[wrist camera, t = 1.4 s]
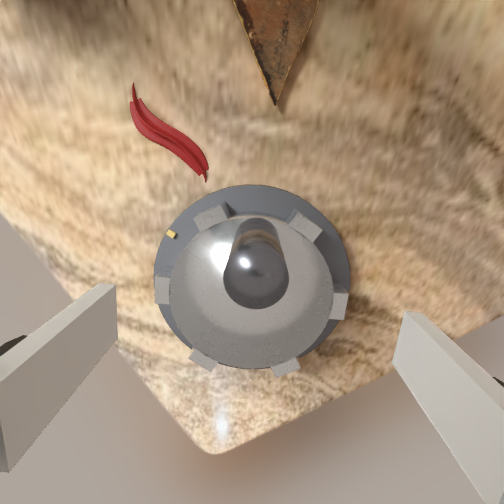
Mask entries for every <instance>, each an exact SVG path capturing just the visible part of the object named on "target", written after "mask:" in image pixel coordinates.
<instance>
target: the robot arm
mask: <svg viewBox="0 0 504 504" xmlns="http://www.w3.org/2000/svg"><path fill="white" fill-rule="evenodd" d="M117 339H118V332H117V303H116V285H115V284H104V283H98V284H97V285H96V286H94V287H93V288H92V289H90V290H89V291H88V292H86V293H85V294H84V295H82V296H81V297H80V298H78V299H77V300H76V301H74V302H73V303H72V304H70V305H69V306H68V307H66V308H65V309H63V310H62V311H61V312H60V313H58V314H57V315H56V316H54V317H53V318H51V319H50V320H49V321H47V322H46V323H45V324H43V325H42V326H41V327H39V328H38V329H37V330H36V331H34V332H33V333H31V334H30V335H29V336H25V335H23V336H20V337H18V338H16V339H13V340H11V341H9V342H7V343H5V344H4V345H2V346H1V347H0V472H8V473H9V472H10V471H11V470H12V468H13V467H14V466H15V465H16V463H17V462H18V461H19V460H20V459H21V457H22V456H23V455H24V454H25V452H26V451H27V450H28V449H29V447H30V446H31V445H32V444H33V442H34V441H35V440H36V439H37V438H38V436H39V435H40V434H41V433H42V431H43V430H44V429H45V428H46V426H47V425H48V424H49V423H50V421H51V420H52V419H53V418H54V417H55V415H56V414H57V413H58V412H59V410H60V409H61V408H62V407H63V405H64V404H65V403H66V402H67V401H68V399H69V398H70V397H71V396H72V394H73V393H74V392H75V391H76V389H77V388H78V387H79V385H80V384H81V383H82V382H83V381H84V379H85V378H86V377H87V376H88V374H89V373H90V372H91V371H92V369H93V368H94V367H95V366H96V364H97V363H98V362H99V361H100V360H101V358H102V357H103V356H104V355H105V353H106V352H107V351H108V350H109V348H110V347H111V346H112V345H113V344H114V342H115V341H116V340H117ZM392 364H393V366H394V367H395V369H396V370H397V372H398V373H399V375H400V376H401V378H402V379H403V381H404V382H405V384H406V385H407V387H408V388H409V390H410V391H411V393H412V394H413V396H414V397H415V399H416V400H417V402H418V403H419V405H420V406H421V408H422V409H423V411H424V412H425V414H426V415H427V417H428V418H429V420H430V421H431V423H432V424H433V425H434V427H435V429H436V430H437V432H438V433H439V435H440V436H441V438H442V439H443V441H444V442H445V444H446V445H447V447H448V448H449V450H450V451H451V453H452V454H453V456H454V457H455V459H456V460H457V462H458V463H459V465H460V466H461V468H462V469H463V471H464V472H465V474H466V475H467V477H468V478H469V480H470V481H471V483H472V484H473V486H474V487H475V489H476V490H477V492H478V493H479V495H480V496H481V498H482V499H483V501H484V502H485V504H504V383H503V382H502V381H500V380H498V379H497V378H495V377H491V376H490V375H489V374H488V373H487V372H486V371H485V370H484V369H483V368H482V367H481V366H479V365H478V364H477V363H476V362H475V361H474V360H473V359H472V358H471V357H469V356H468V355H467V354H466V353H465V352H464V351H463V350H462V349H461V348H460V347H459V346H458V345H456V344H455V343H454V342H453V341H452V340H451V339H450V338H449V337H448V336H447V335H446V334H444V333H443V332H442V331H441V330H440V329H439V328H438V327H437V326H436V325H435V324H434V323H432V322H431V321H430V320H429V319H428V318H427V317H426V316H425V315H424V314H423V313H420V312H409V311H405V313H404V317H403V321H402V325H401V329H400V333H399V337H398V341H397V344H396V348H395V352H394V356H393V360H392Z"/></svg>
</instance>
